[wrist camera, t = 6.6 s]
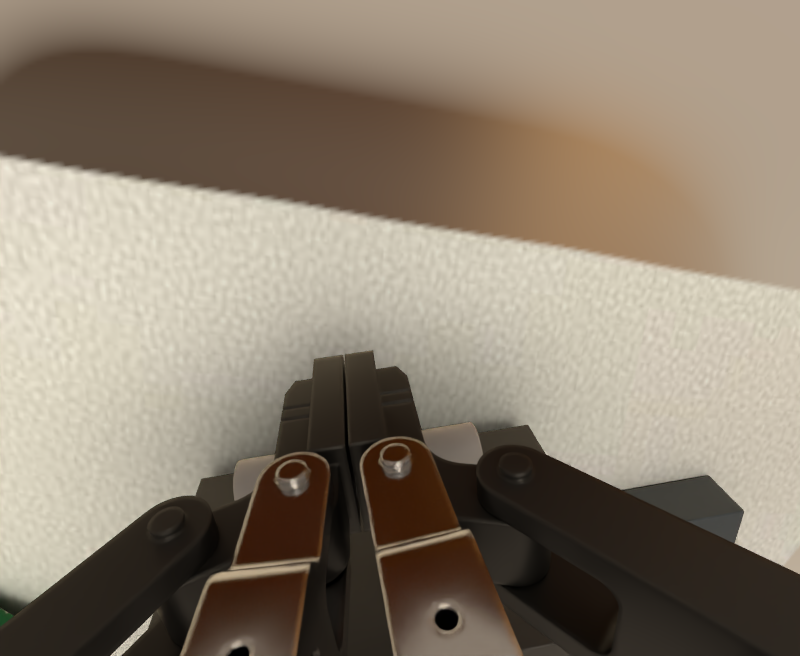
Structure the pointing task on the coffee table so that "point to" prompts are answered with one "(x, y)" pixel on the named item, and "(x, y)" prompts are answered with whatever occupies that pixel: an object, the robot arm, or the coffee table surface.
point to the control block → (696, 504)
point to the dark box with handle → (366, 608)
